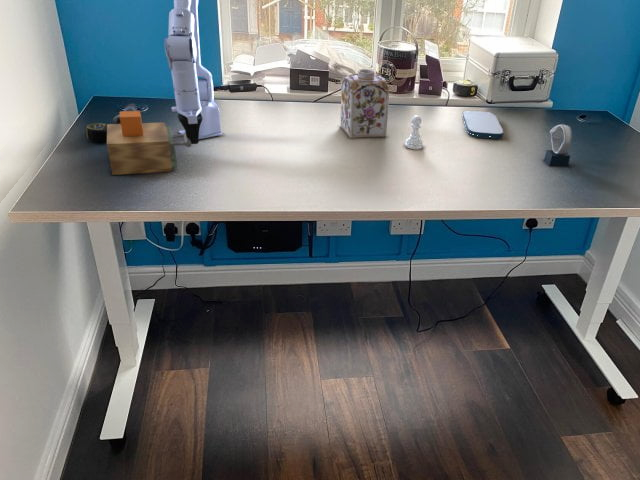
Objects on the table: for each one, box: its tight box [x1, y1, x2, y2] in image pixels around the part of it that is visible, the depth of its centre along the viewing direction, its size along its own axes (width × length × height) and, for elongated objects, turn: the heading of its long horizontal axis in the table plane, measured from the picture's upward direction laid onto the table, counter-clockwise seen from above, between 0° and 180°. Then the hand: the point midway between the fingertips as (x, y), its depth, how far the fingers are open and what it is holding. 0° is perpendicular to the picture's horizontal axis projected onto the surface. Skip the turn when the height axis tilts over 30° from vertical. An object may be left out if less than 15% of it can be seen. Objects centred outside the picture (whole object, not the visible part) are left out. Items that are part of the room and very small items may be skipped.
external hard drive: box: [461, 110, 505, 140], centre depth 196 cm, size 24×12×2 cm, turn 0°
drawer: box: [166, 125, 192, 168], centre depth 149 cm, size 17×13×6 cm
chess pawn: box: [404, 115, 424, 150], centre depth 173 cm, size 5×5×9 cm
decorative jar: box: [340, 68, 390, 139], centre depth 179 cm, size 12×12×18 cm
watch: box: [543, 123, 572, 167], centre depth 170 cm, size 6×8×11 cm
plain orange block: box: [119, 110, 143, 136], centre depth 145 cm, size 5×5×5 cm
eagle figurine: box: [112, 103, 138, 124], centre depth 168 cm, size 8×7×9 cm
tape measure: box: [84, 122, 108, 143], centre depth 160 cm, size 7×7×4 cm
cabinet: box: [106, 121, 173, 176], centre depth 148 cm, size 14×15×8 cm
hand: (193, 143), depth 152 cm, fingers closed, pressing on drawer
